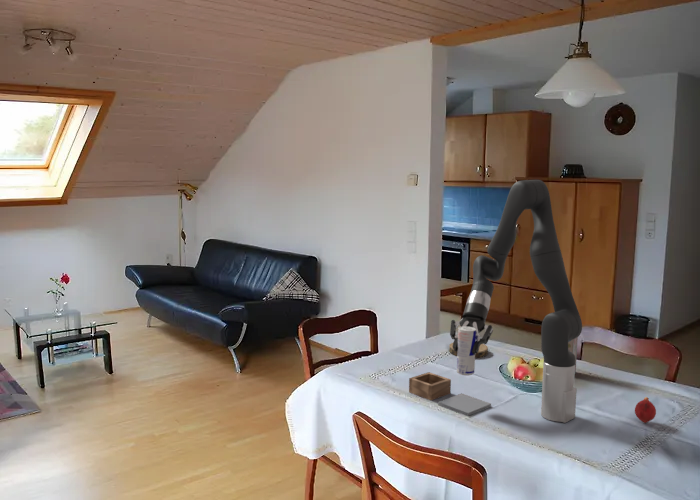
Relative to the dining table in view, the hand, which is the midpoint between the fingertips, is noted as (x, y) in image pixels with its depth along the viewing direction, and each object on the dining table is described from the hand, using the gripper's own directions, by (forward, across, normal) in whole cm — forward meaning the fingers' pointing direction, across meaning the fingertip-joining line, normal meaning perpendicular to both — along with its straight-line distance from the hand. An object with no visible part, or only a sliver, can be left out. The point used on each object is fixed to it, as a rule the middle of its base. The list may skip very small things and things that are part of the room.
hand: (464, 351), depth 193 cm
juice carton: (-23, +23, +50) cm, 60 cm away
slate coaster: (+12, 0, +14) cm, 19 cm away
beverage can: (+4, 0, +7) cm, 8 cm away
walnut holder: (+8, -14, +18) cm, 24 cm away
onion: (+2, +52, +24) cm, 57 cm away
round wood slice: (-28, -17, +56) cm, 64 cm away
